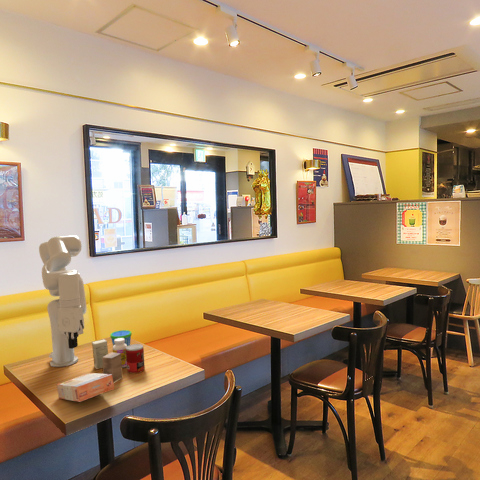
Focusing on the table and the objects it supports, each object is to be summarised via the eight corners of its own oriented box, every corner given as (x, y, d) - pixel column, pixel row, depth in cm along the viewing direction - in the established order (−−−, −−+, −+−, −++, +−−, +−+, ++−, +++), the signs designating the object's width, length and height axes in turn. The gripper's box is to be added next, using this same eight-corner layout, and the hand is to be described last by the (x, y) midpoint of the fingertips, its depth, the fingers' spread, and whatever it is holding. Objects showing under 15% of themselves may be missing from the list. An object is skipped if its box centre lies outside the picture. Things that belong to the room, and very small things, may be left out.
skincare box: (107, 363, 193) (105, 338, 192) (109, 366, 189) (107, 341, 188) (93, 366, 189) (91, 341, 188) (95, 369, 186) (93, 343, 185)
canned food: (140, 373, 179) (138, 349, 178) (123, 373, 180) (122, 349, 179) (147, 367, 186) (146, 344, 185) (131, 366, 188) (130, 343, 187)
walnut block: (104, 382, 171) (102, 357, 171) (113, 376, 177) (111, 352, 176) (113, 383, 169) (111, 358, 169) (122, 377, 175) (120, 353, 174)
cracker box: (58, 399, 158) (79, 402, 143) (56, 383, 158) (76, 385, 143) (92, 387, 167) (115, 389, 153) (90, 372, 168) (112, 373, 153)
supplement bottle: (116, 370, 184) (114, 342, 183) (111, 365, 189) (109, 339, 188) (130, 366, 188) (128, 339, 187) (125, 362, 193) (123, 336, 192)
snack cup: (130, 356, 201) (129, 336, 200) (108, 358, 200) (107, 338, 199) (134, 346, 216) (133, 327, 216) (114, 348, 215) (113, 329, 214)
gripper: (48, 304, 161) (52, 348, 162) (77, 306, 155) (80, 352, 157) (63, 300, 168) (66, 343, 169) (91, 301, 162) (94, 346, 163)
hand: (73, 347), depth 163 cm, fingers closed
